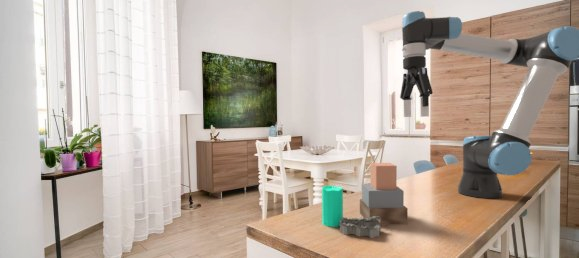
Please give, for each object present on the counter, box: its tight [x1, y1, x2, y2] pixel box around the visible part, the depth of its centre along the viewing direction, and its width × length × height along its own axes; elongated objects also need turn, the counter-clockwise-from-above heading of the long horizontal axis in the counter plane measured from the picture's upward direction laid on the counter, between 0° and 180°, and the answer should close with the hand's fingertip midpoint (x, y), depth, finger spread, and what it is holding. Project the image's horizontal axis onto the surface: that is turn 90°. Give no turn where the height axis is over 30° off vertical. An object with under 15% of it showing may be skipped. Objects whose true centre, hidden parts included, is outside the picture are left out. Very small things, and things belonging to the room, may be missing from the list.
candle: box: [321, 182, 344, 228], centre depth 90 cm, size 6×6×12 cm
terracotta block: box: [370, 162, 398, 190], centre depth 94 cm, size 6×6×7 cm
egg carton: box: [339, 216, 382, 239], centre depth 83 cm, size 11×8×4 cm
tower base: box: [359, 198, 408, 226], centre depth 94 cm, size 11×11×5 cm
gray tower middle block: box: [361, 183, 405, 208], centre depth 94 cm, size 10×10×5 cm
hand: (415, 116), depth 110 cm, fingers open, 13 cm apart
